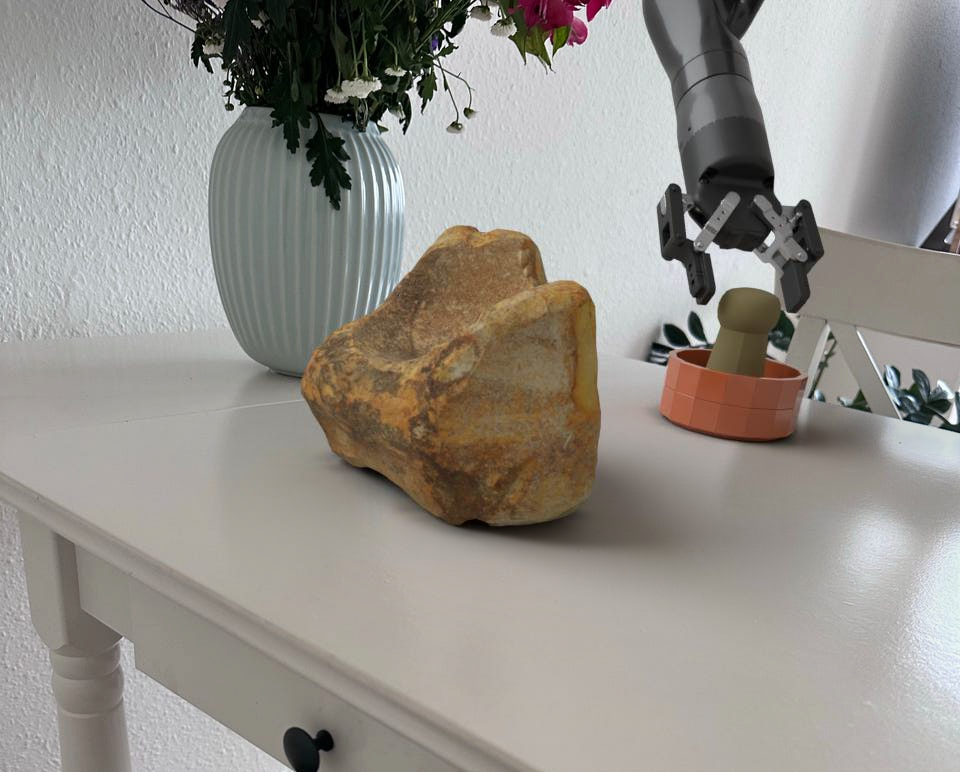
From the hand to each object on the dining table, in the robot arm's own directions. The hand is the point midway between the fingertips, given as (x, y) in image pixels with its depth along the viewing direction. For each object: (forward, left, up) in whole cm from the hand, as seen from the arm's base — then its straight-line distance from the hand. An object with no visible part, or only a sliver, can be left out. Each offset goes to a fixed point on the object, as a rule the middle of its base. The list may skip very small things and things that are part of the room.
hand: (753, 303), depth 81 cm
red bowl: (0, 0, -10) cm, 10 cm away
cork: (0, 0, -10) cm, 10 cm away
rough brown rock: (+30, +18, -11) cm, 36 cm away
